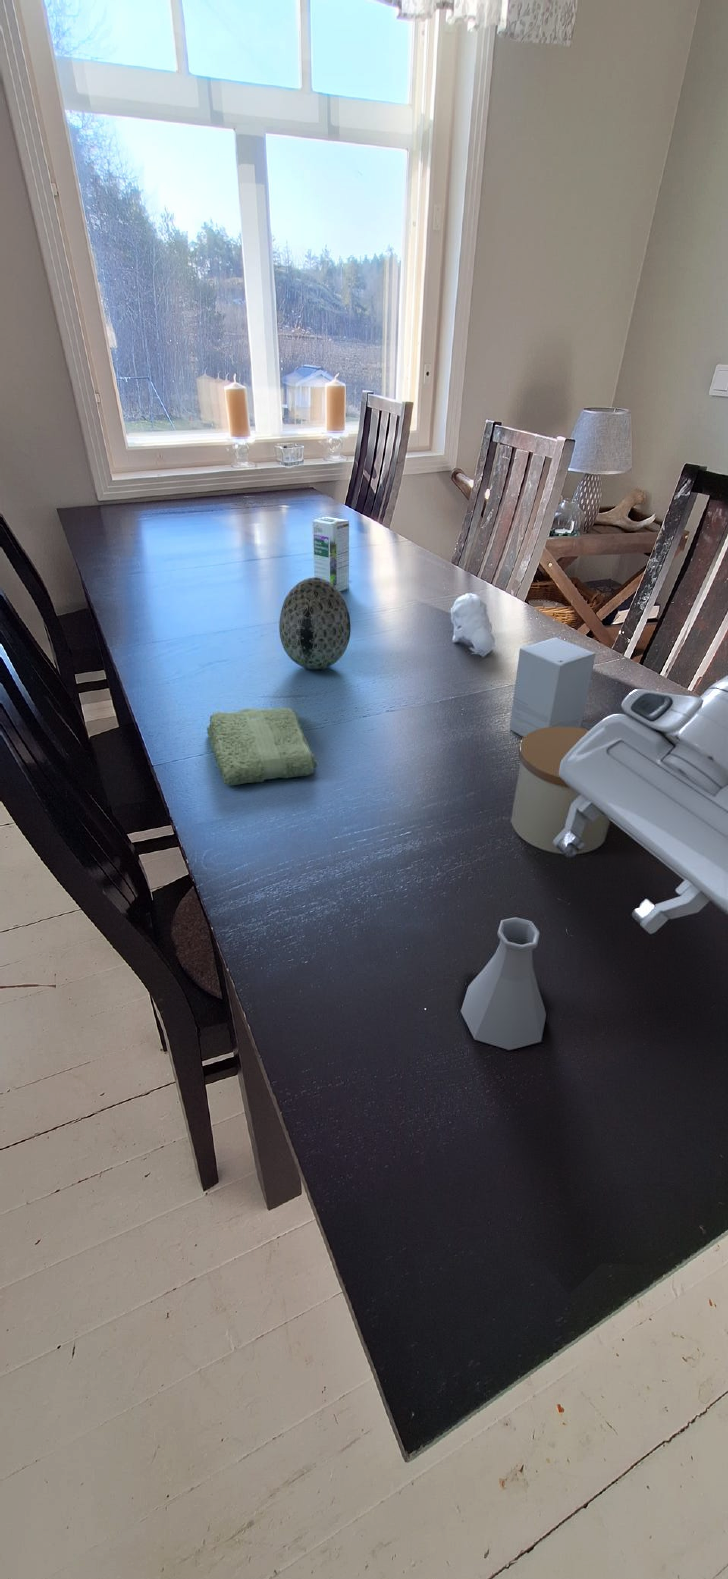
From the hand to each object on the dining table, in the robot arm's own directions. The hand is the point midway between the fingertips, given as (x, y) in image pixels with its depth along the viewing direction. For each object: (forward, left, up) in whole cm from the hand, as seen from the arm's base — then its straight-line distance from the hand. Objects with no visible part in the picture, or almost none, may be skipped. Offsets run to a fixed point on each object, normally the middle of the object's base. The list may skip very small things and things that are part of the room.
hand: (598, 886), depth 55 cm
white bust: (-1, -77, -12) cm, 78 cm away
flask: (+7, +3, -12) cm, 14 cm away
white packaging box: (-7, -46, -12) cm, 48 cm away
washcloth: (+33, -40, -12) cm, 53 cm away
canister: (-4, -24, -12) cm, 27 cm away
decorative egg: (+27, -68, -12) cm, 74 cm away
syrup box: (+26, -109, -12) cm, 113 cm away
